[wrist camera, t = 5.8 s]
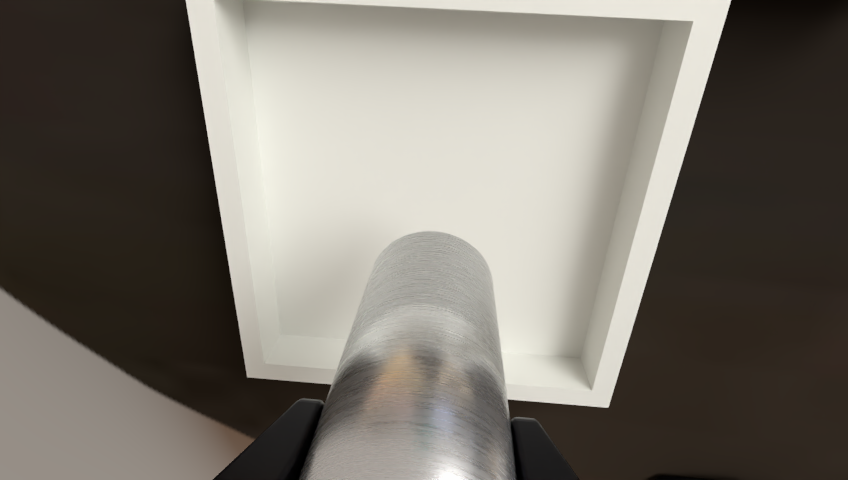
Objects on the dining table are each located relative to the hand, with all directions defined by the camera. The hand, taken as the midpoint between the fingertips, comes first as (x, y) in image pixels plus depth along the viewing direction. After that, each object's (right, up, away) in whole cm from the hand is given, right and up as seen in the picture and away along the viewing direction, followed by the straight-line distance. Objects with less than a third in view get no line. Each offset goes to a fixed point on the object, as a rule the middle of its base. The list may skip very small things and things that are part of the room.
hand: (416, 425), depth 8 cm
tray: (+1, +5, +10) cm, 11 cm away
